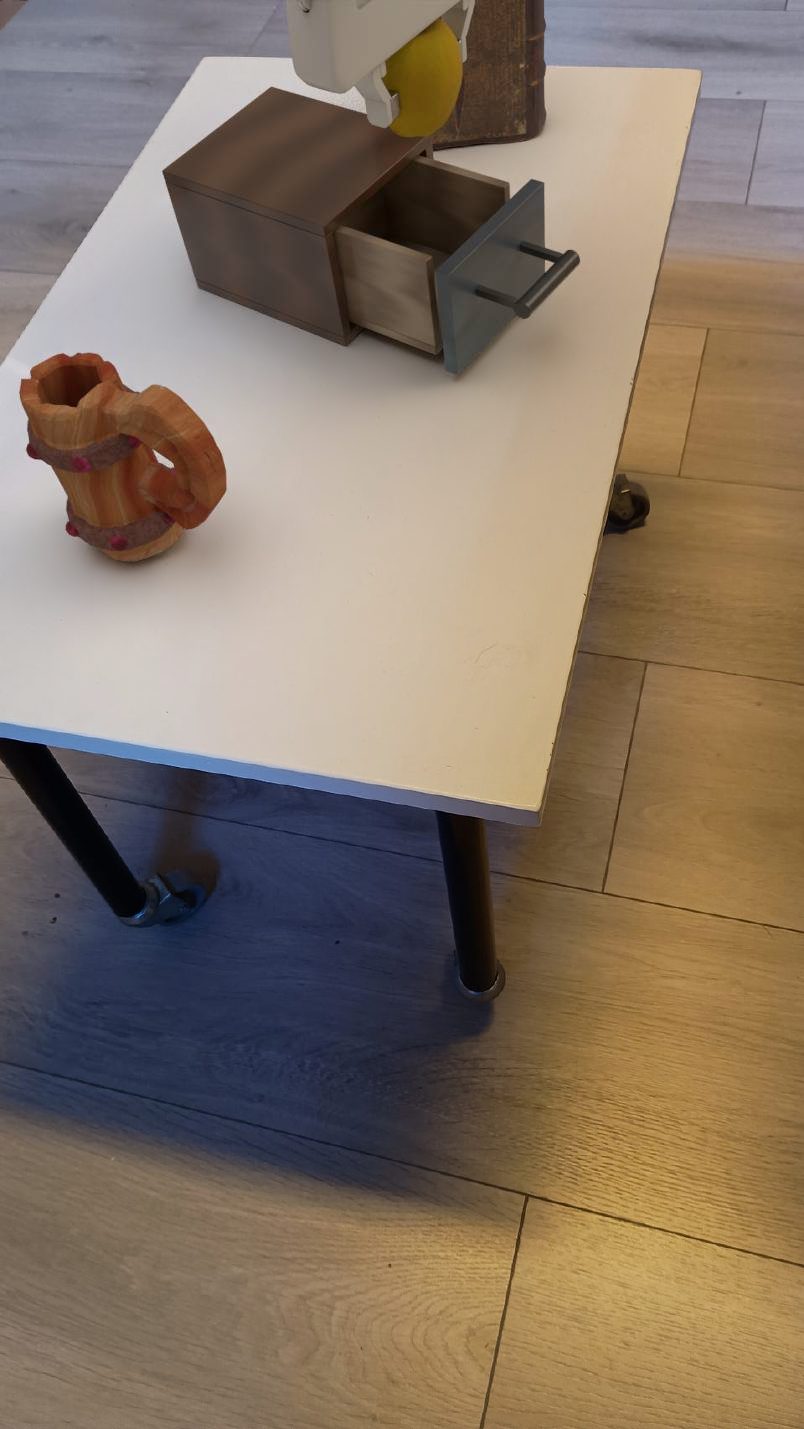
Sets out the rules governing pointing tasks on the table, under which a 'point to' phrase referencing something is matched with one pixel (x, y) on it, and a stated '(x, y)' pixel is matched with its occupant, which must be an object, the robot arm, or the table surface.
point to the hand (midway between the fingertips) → (419, 92)
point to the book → (499, 76)
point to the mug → (121, 455)
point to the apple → (425, 80)
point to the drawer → (447, 259)
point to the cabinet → (282, 204)
